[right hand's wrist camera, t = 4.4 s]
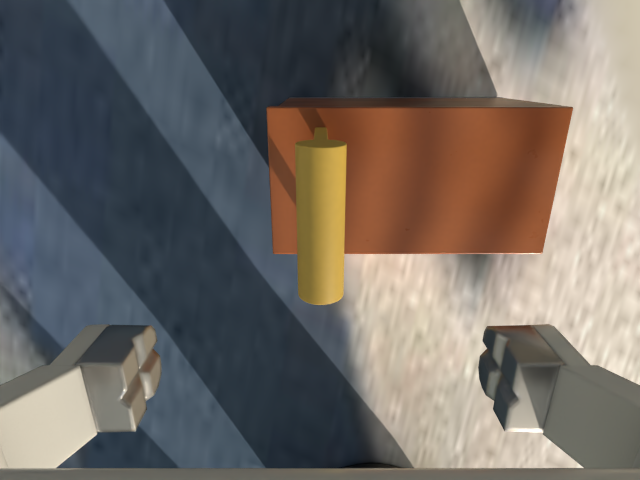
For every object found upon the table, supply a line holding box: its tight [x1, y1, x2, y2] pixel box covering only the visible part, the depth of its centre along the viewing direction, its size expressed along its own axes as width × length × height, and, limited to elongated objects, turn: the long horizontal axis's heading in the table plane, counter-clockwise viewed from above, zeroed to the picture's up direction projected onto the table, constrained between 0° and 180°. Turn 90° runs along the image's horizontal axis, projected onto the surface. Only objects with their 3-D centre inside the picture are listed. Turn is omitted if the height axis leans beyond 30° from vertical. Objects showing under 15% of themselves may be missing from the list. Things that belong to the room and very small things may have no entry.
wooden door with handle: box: [266, 106, 573, 305], centre depth 22 cm, size 18×9×9 cm, turn 90°
